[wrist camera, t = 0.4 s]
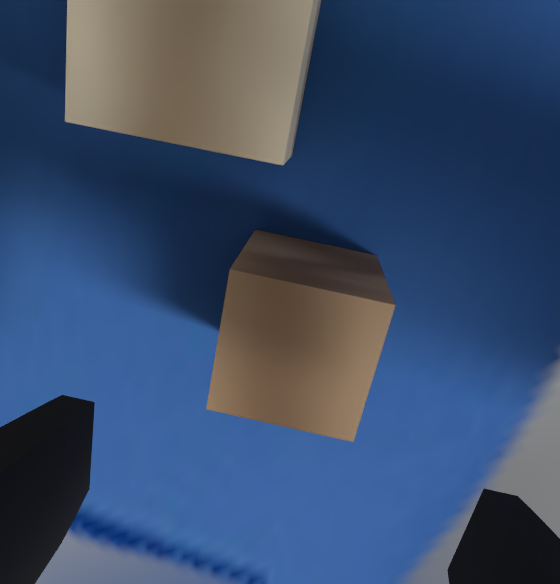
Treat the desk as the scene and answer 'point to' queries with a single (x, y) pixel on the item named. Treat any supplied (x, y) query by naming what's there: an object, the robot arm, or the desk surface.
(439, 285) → the desk surface
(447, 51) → the desk surface
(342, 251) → the walnut block
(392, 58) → the desk surface
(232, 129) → the beech base
